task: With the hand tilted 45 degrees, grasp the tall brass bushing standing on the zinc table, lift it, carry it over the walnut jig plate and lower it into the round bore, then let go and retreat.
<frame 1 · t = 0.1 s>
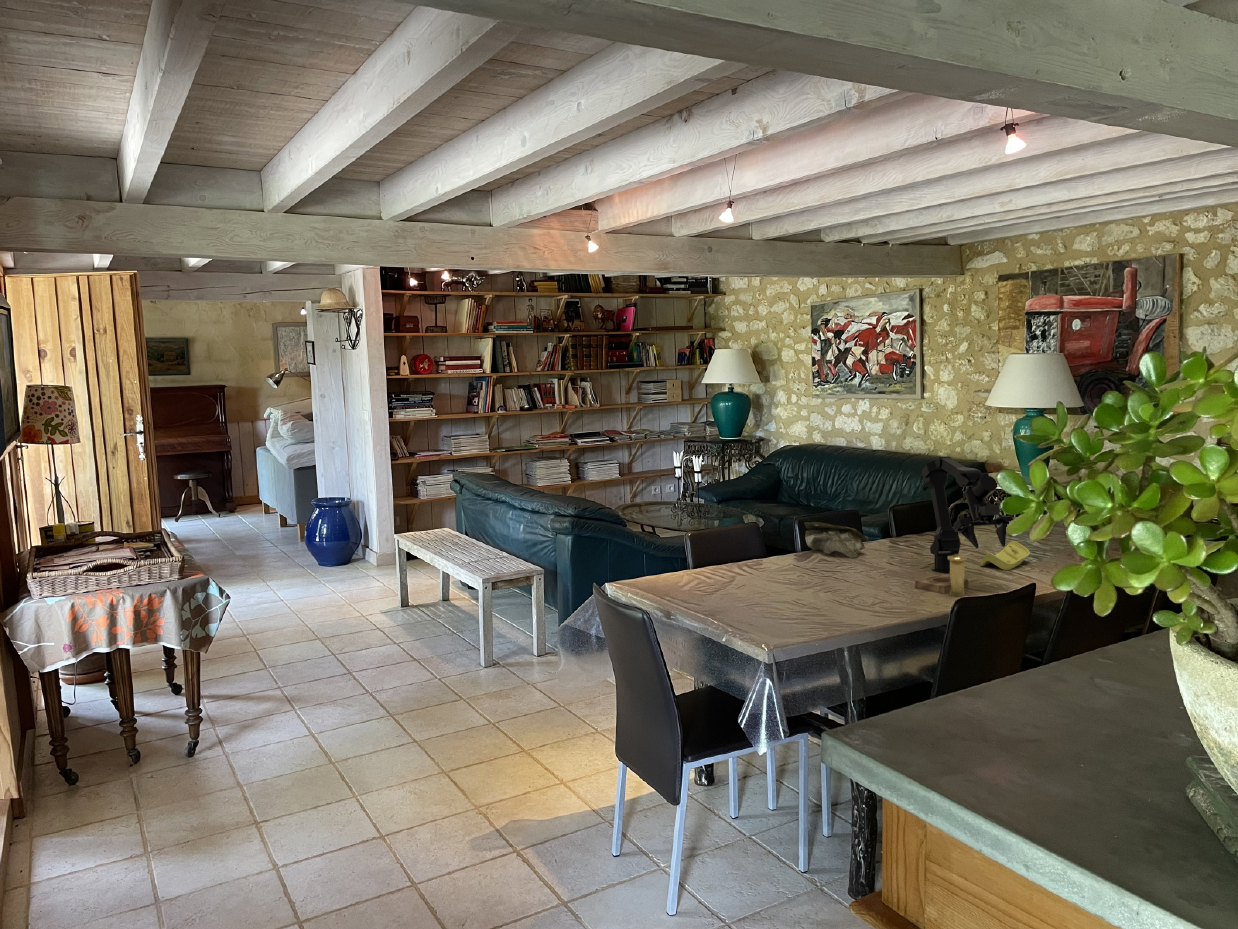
hand: (990, 547, 293), 15 cm above the table, tool tilted 35°, fingers open, 9 cm apart
jig: (941, 587, 302), on the table
bushing: (956, 594, 292), on the table
hollow geode rock: (833, 553, 362), on the table
plastic component: (1006, 565, 331), on the table
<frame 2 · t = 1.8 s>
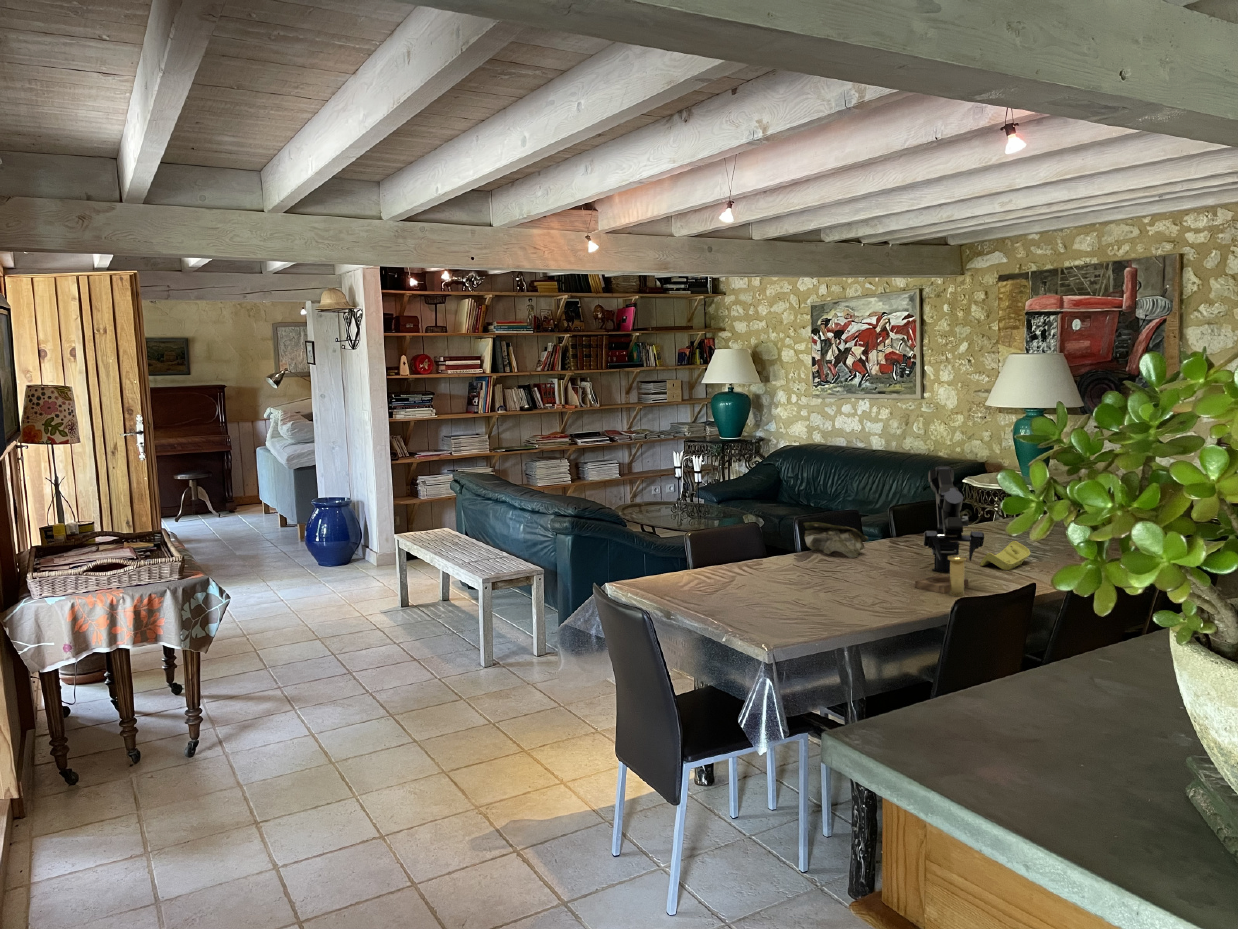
hand: (955, 560, 295), 11 cm above the table, tool tilted 45°, fingers open, 9 cm apart
nothing on the table moved.
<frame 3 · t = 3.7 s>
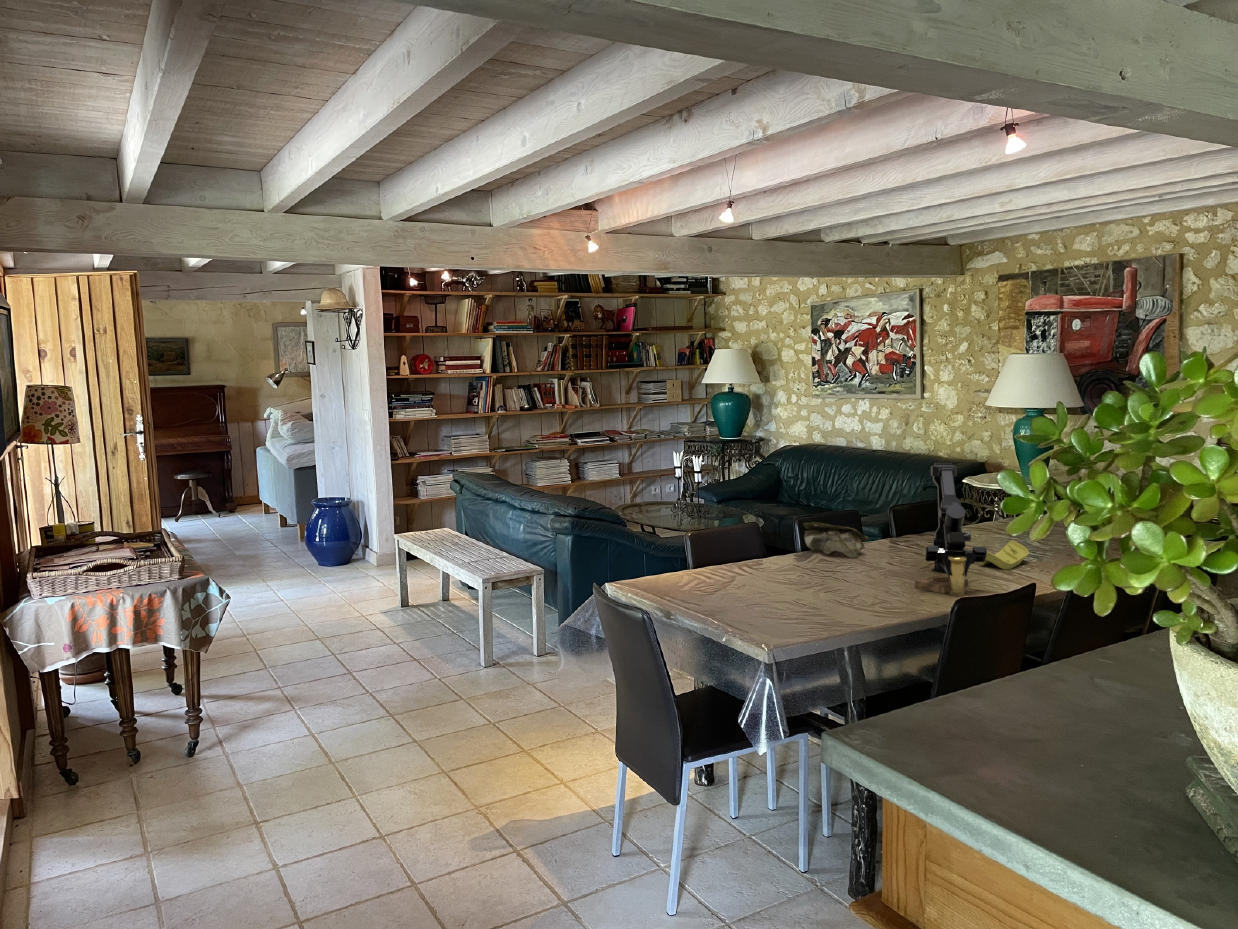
hand: (957, 575, 290), 7 cm above the table, tool tilted 45°, fingers closed on bushing, 5 cm apart
bushing: (956, 594, 292), on the table, touching gripper
everything else where it was.
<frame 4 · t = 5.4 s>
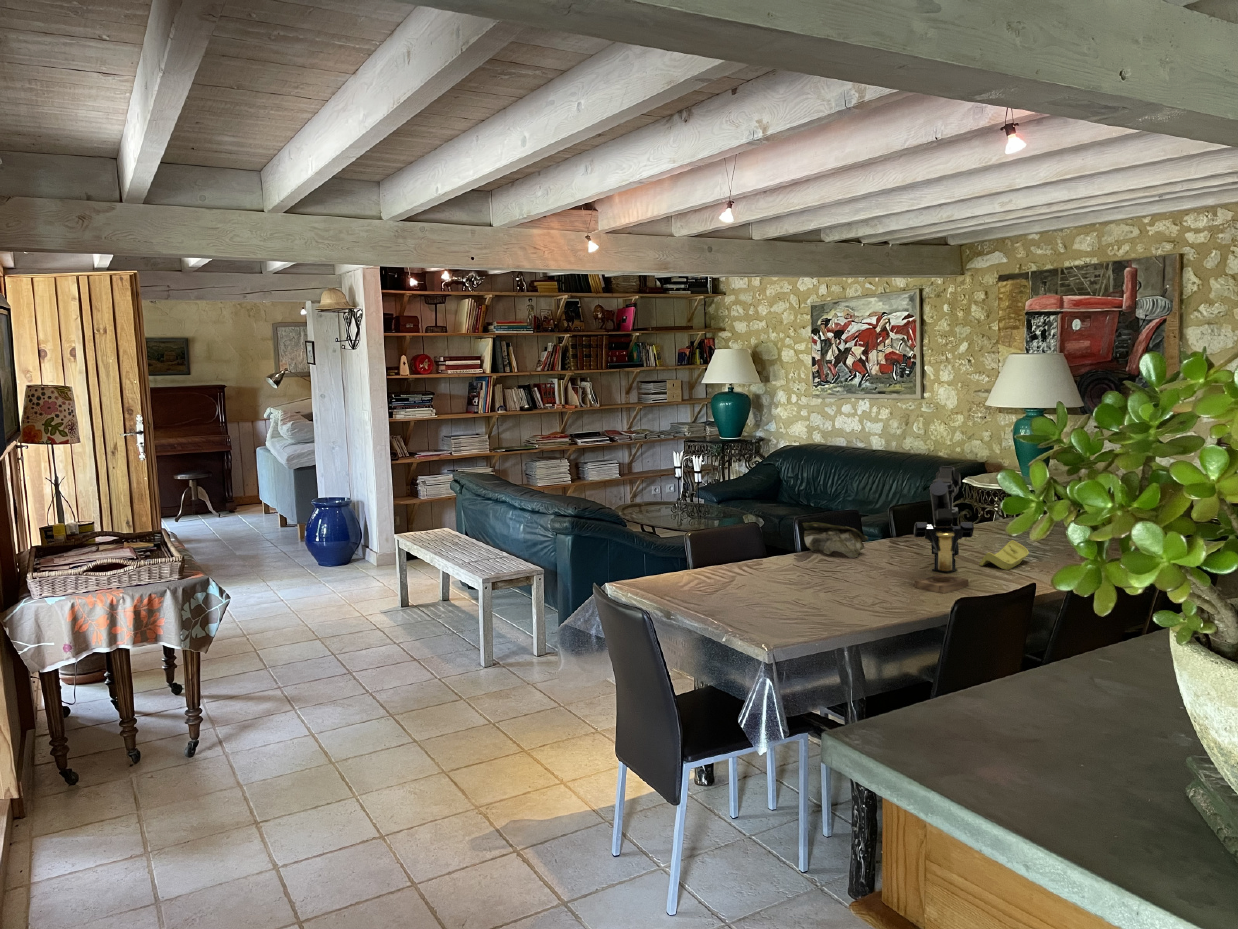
hand: (945, 551, 298), 13 cm above the table, tool tilted 45°, fingers closed on bushing, 5 cm apart
bushing: (945, 569, 300), point 6 cm above the table, touching gripper
everything else where it was.
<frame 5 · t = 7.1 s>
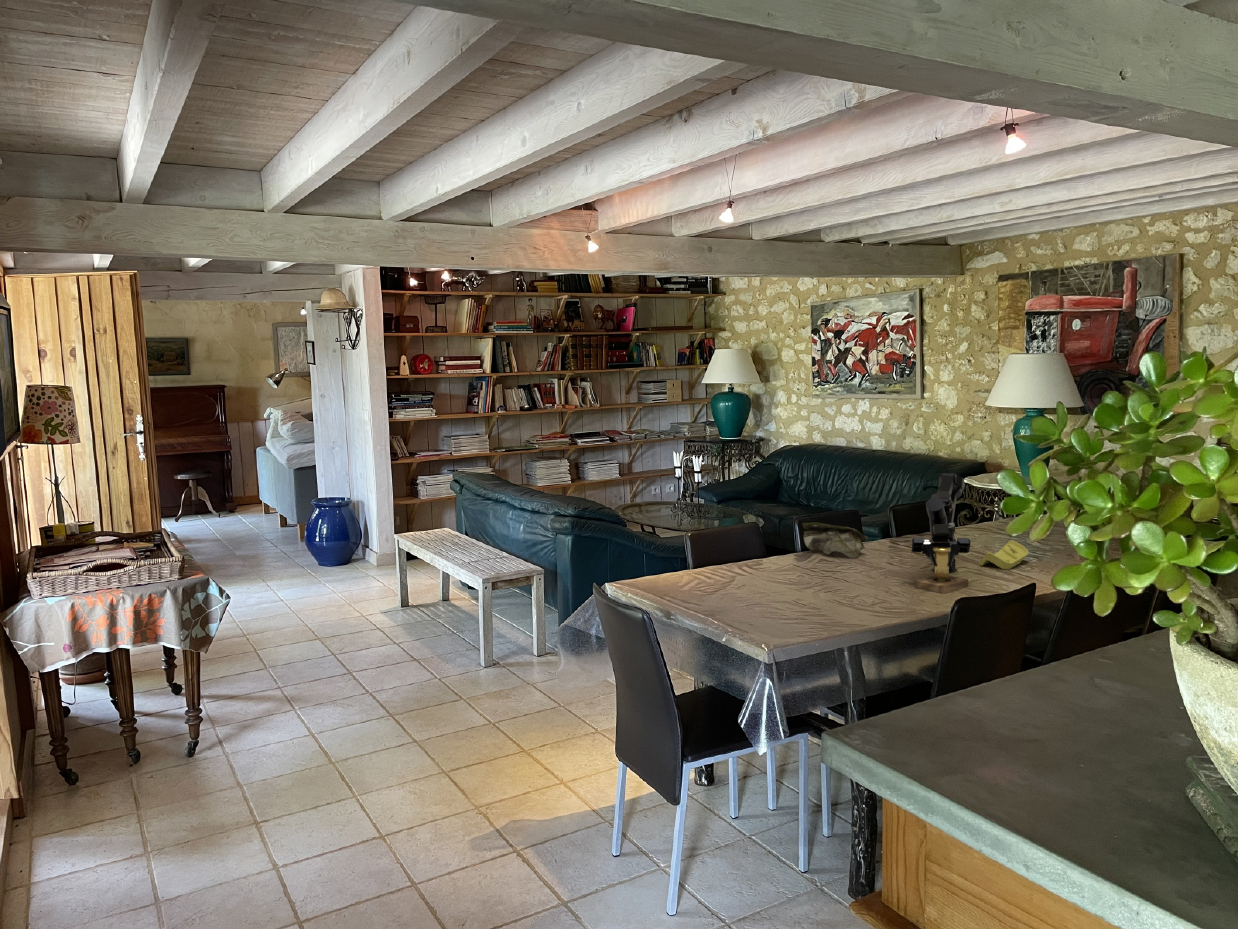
hand: (942, 566, 300), 7 cm above the table, tool tilted 45°, fingers closed on bushing, 4 cm apart
bushing: (941, 584, 302), point 1 cm above the table, touching gripper
when the fingers open (7 cm above the table, at t = 7.4 s): bushing stays where it is, resting in jig.
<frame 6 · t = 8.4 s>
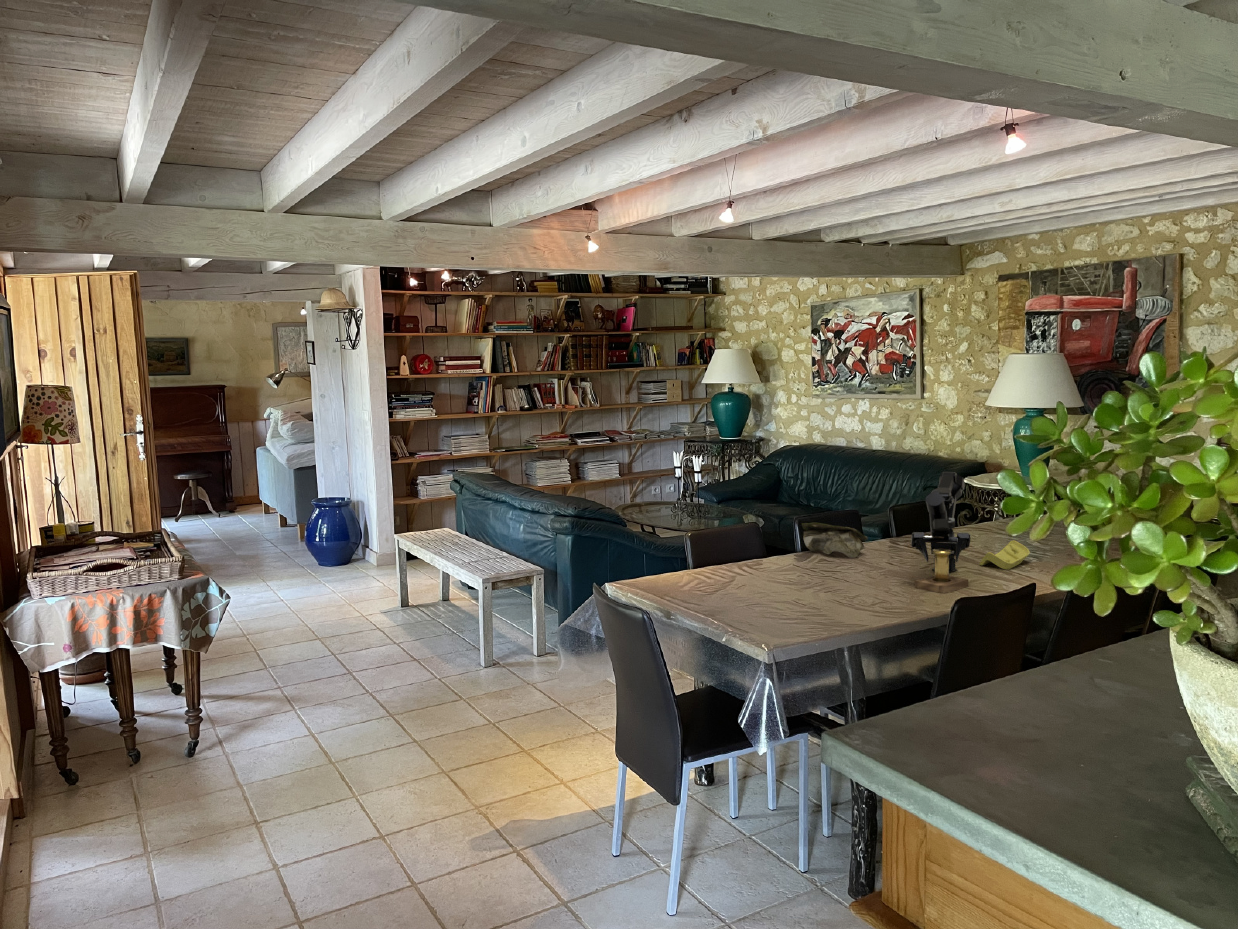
hand: (942, 561, 300), 9 cm above the table, tool tilted 45°, fingers open, 9 cm apart
bushing: (941, 587, 303), resting in jig
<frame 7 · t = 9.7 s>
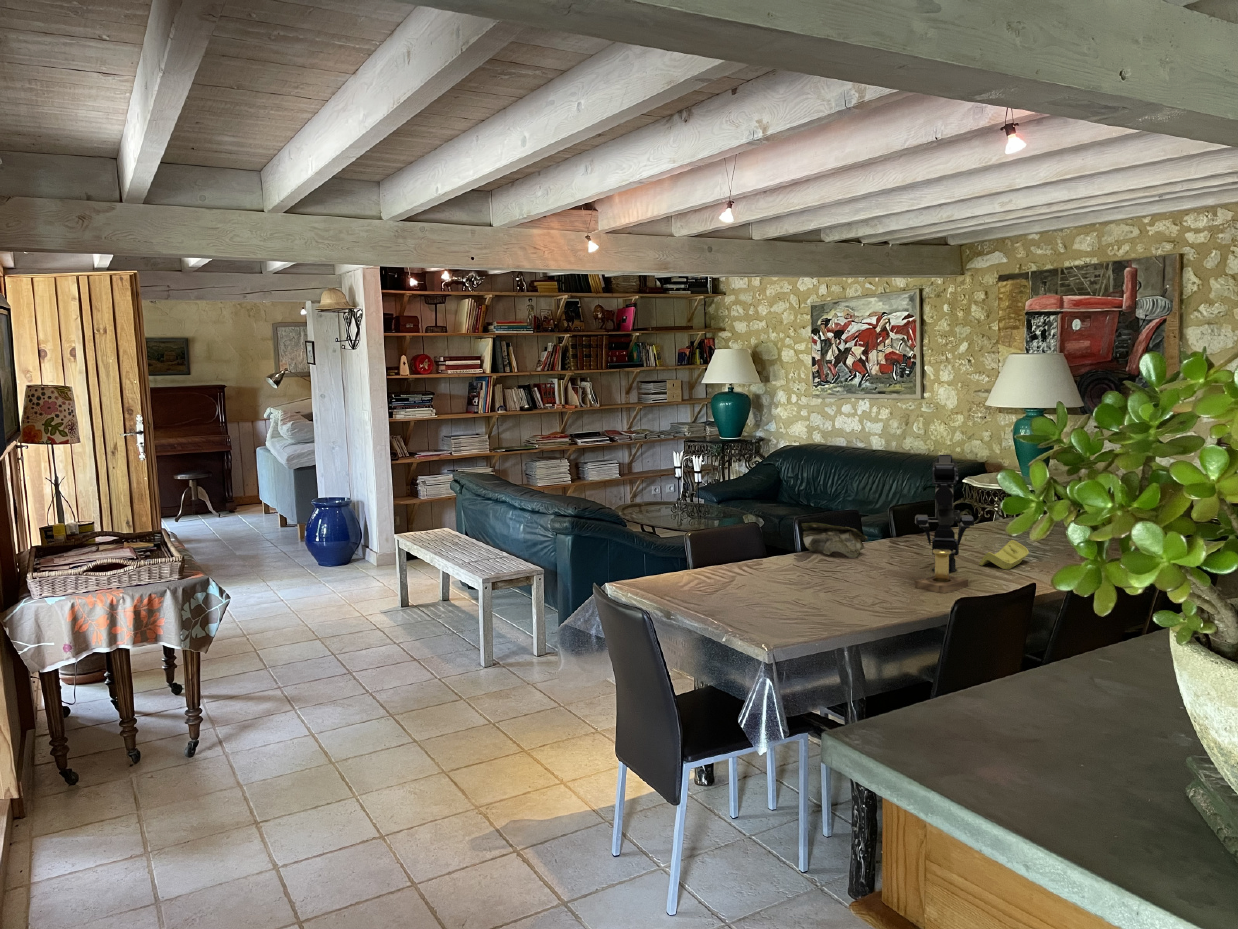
hand: (944, 545, 308), 13 cm above the table, tool pointing down, fingers open, 9 cm apart
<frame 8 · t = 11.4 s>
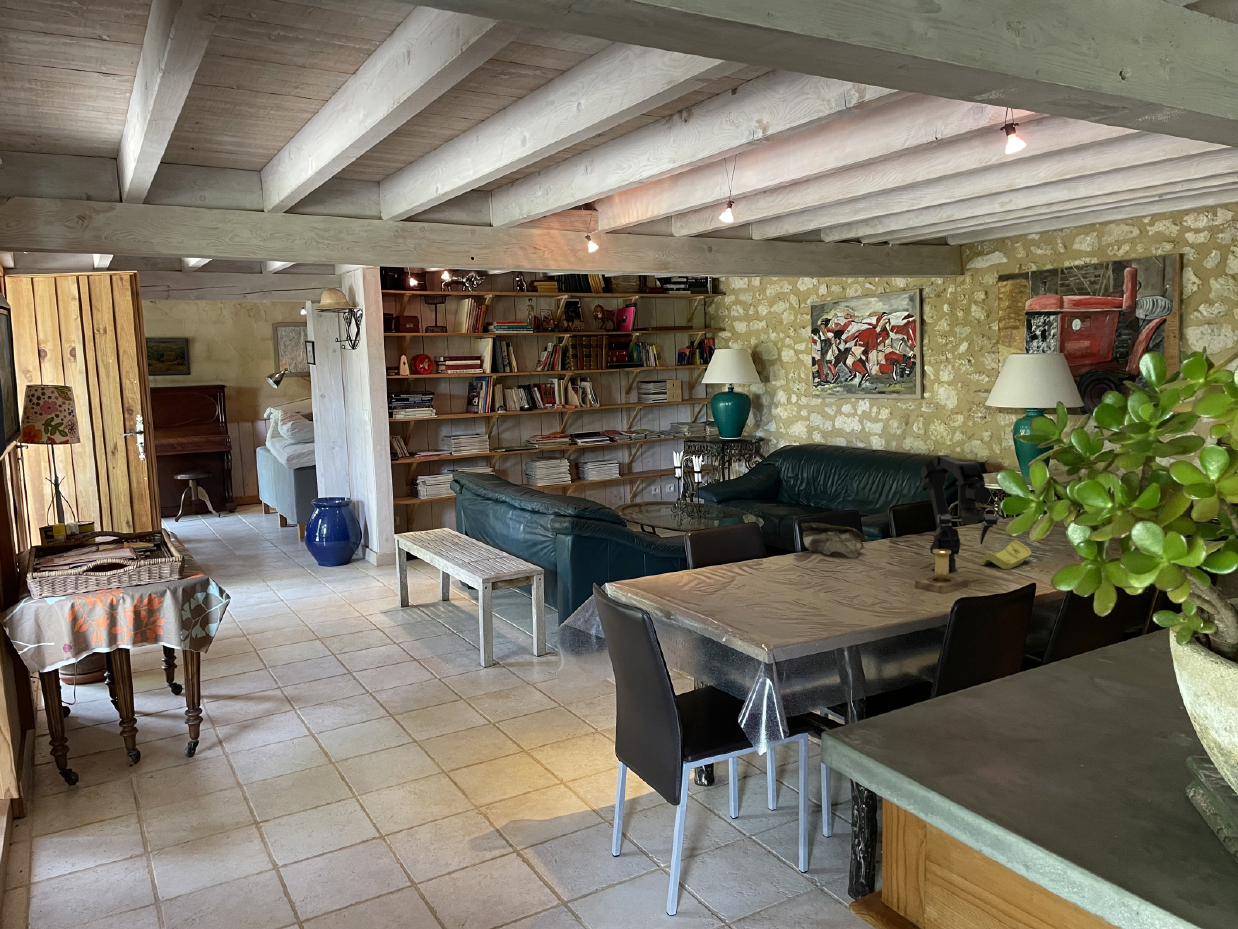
hand: (966, 544, 308), 13 cm above the table, tool pointing down, fingers open, 9 cm apart
at the end: bushing 0.1 cm off-centre on the jig, point 0.0 cm above the jig's base; bushing tilted 0°; the gripper is holding nothing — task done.
